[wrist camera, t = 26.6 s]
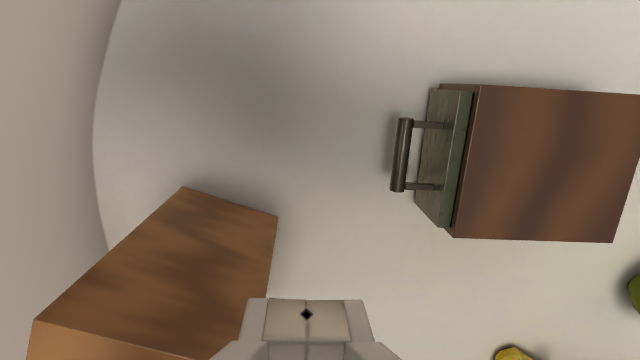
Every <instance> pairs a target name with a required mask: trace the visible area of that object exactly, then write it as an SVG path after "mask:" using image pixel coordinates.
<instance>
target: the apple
mask: <svg viewBox="0 0 640 360" xmlns="http://www.w3.org/2000/svg"><path fill="white" fill-rule="evenodd" d="M628 290H629V294H630V298H631V301H632V303H633V306H634V307H635V309H636V310H637V311H638V312H639V314H640V274H639V275H637V276H635V277H634V278H633V279H632V280H631V281H630V282H629V284H628Z"/></svg>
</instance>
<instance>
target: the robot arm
mask: <svg viewBox="0 0 640 360" xmlns="http://www.w3.org/2000/svg"><path fill="white" fill-rule="evenodd" d="M209 360H402V359H401V358H399V357H398V356H397V355H396V354H394V353H393V352H392V351H391V350H390V349H388V348H387V347H386V346H385V345H383V344H382V343H381V342H375V340H374V337H373V334H372V330H371V327H370V323H369V320H368V317H367V313H366V310H365V306H364V303H363V301H362V300H303V299H278V298H269V299H268V298H249V299H248V301H247V305H246V309H245V313H244V318H243V322H242V326H241V330H240V334H239V338H238V341H231V342H230V343H229V344H227V345H226V346H225V347H224V348H222V349H221V350H220V351H219V352H218V353H216V354H215V355H214V356H213V357H212V358H210V359H209Z"/></svg>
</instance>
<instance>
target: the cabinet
mask: <svg viewBox="0 0 640 360" xmlns="http://www.w3.org/2000/svg"><path fill="white" fill-rule="evenodd" d="M439 90H455V91H471V92H473V97H472V99H474V100H473V106H472V111H471V117H470V123H469V128H468V134H467V140H466V145H465V151H464V157H463V162H462V168H461V174H460V179H459V185H458V191H457V197H456V202H455V208H454V212H452V217H451V223H450V228H444V229H445V230H446V231H447V232H448V233H449V234H450V235H451V236H452V237H453V238H472V239H503V240H534V241H565V242H595V243H613V240H614V237H615V233H616V230H617V227H618V224H619V221H620V218H621V214H622V211H623V208H624V205H625V202H626V199H627V195H628V192H629V189H630V186H631V183H632V180H633V177H634V173H635V170H636V167H637V164H638V161H639V158H640V95H637V94H622V93H606V92H591V91H576V90H560V89H545V88H529V87H514V86H498V85H483V84H440V86H439Z"/></svg>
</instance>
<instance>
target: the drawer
mask: <svg viewBox="0 0 640 360" xmlns="http://www.w3.org/2000/svg"><path fill="white" fill-rule="evenodd" d="M472 97H473V92H471V91H455V90H438V89H431V92H430V99H429V106H428V113H427V120H426V121H416V120H414V119H413V118H407V117H398V124H397V132H396V140H395V149H394V157H393V165H392V174H391V182H390V190H391V191H393V192H404V189H406V190H416V197H415V204H416V205H417V206H418V207H419V208H420V209H421V210H422V211H423V212H424V213H425V214H426V216H427V217H428V218H429V219H430V220H431V221H432V222H433V223H434V224H435V225H436V226H437V227H440V228H450V223H451V217H452V212H454V208H455V202H456V197H457V191H458V185H459V179H460V174H461V168H462V162H463V157H464V151H465V145H466V140H467V134H468V128H469V123H470V117H471V111H472V106H473V100H474V99H472ZM413 127H414V128H425V134H424V141H423V148H422V155H421V162H420V169H419V176H418V183H411V182H405V181H406V174H407V166H408V159H409V151H410V144H411V136H412V128H413Z"/></svg>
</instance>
